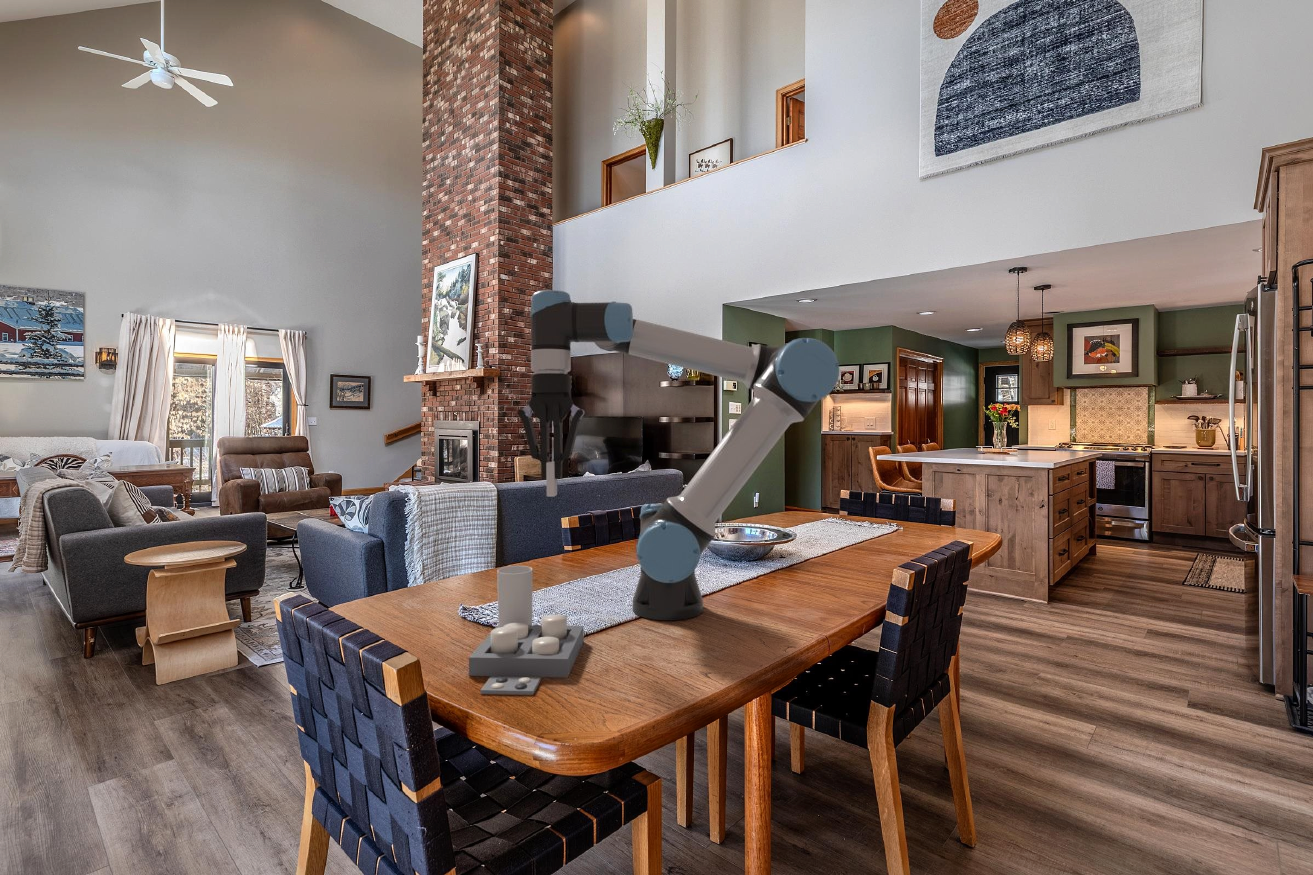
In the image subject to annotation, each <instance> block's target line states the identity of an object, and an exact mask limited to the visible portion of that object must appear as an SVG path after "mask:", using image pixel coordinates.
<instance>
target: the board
mask: <svg viewBox="0 0 1313 875" xmlns="http://www.w3.org/2000/svg"><path fill="white" fill-rule="evenodd" d="M503 626H505V625H499V624H497V625H496V626H495V628H494V629H496V628H500V627H503ZM584 626H585V625H567V639H559V654H532V641H533V640H534V639H537V638H540V637H542V624H541V625H539V624H537V625H536V624H535V625H534V624H532V625H528V637H527V638H526V639H518V651H517V652H516V654H500V653H491V632H490V633H489V634H488V635H487V637H485V639H484V640H483V641H482V642H481V643H480V644H479V645H478V647H477V648H476V649H475V650H474V651H473V653H471V654H470V655H469V657H468V676H469V677H491V676H494V677H541V678H562V679H563V678H565V679H566V678H567V679H568V678H569V676H570V673H571V671H572V669H573V666H574V665H575V662H576V660H577V657H578V655H579V653H580V651H581V649H582V646H583V644H584V641H585V639H584V636H585V635H584V634H585V633H584V632H585V629H584Z"/></svg>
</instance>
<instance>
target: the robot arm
mask: <svg viewBox="0 0 1313 875" xmlns="http://www.w3.org/2000/svg"><path fill="white" fill-rule="evenodd" d="M530 301H531V302H530V304H531V305H530V314H529V318H530V319H529V320H530V349H531V350H530V371H532V372H533V374H531V376H530V385H531V386H530V388H531V390H530V392H531V394H530V396H531V397H530V398H529V401H528V405H526V406H524V407H523V408H521V409H520V408H519V409H518V410H517V412H516V413H517V415H518V417H519V419H520V420H521V421H522V424H523V429H524V432H525V437H526V441H527V445H528V449H529V453H530V456H531V459H534V460H537V461H539V462H540V476H541V479H545V480H546V497H548V498H549V497H551V498H552V497H553V498H554V497H556V496H557V495H558V480H559V479H562V478H563V462H564V461H565V460H568V459H569V458H572V456H573V452H574V448H575V443H576V439H577V435H578V430H579V427H580V426H579V425H580V421H581V420H582V418H584V416H585V414H586V412H585V409H581V408H579V407H578V406H577V405H575V402H574V400H573V398H572V383H571V381H572V378H571V377H572V376H571V375H570V374H568V373H569V372H570V371H571V370H572V368H571V367H572V365H571V362H572V360H571V358H572V356H571V353H572V352H571V351H572V350H571V343H594V344H595V345H596V346H597V347H598V348H599V349H600V350H604V351H607V352H618V353H621V354H626V355H629V356H635V357H639V358H643V359H646V360H651V361H654V362H658V363H662V364H668V365H671V366H675V367H680V368H683V369H684V368H685V369H688V370H692V371H696V372H701V373H704V374H708V375H712V376H716V377H721V378H723V379H728V380H732V381H736V382H740V383H743V384H744V387H746V389H749V390H753V394H754V397H753V398H752V400H751V401H750V402H749V403H748V405H747V406H746V408H744V409H743V411H742V412H741V414H740V415H739V417H737V419H736V421H735V422H734V423H733V424H732V426H731V427H730V428H729V430H728V431H727V432H726V434H725V435H724V436H723V438H721V440H720V441H719V443H718V444H717V446H716V447H715V448H714V449H713V451H712V452H711V453H710V454H709V456H708V457H707V458H706V460H705V461H704V463H703V464H702V465H701V467H700V468H699V469H698V471H697V472H695V474H694V476H693V477H692V478H691V480H690V481H689V482H688V484H687V485H686V486H685V487H684V489H683V490H682V491H681V492H680V494H679V495H677V496H671V497H670V496H669V497H667V498H666V499H665V501H664V502H663V503H644V504H643V505H642V506H641V507H640V514H639V519H640V533H639V536H638V538H637V539H638V540H637V541H636V544H635V545H636V546H635V551H636V552H635V554H636V558H637V561H638V563H639V566H640V576H639V579H638V582H637V585H636V588H635V592H634V594H633V596H632V597H633V598H632V612H633V613H634V614H635V615H637V616H639V617H642V618H645V619H648V620H649V619H650V620H655V621H657V620H658V621H681V620H682V621H683V620H687V619H691V618H695V617H698V616H700V615H701V614H702V613H703V611H704V599H703V597H702V593H701V590H700V587H699V584H698V583H699V582H698V580H697V577H696V568H697V566H698V564H699V562H700V559H701V555H702V554H703V552H704V551H705V550H706V548H707V547H708V546H709V544H710V543H711V541H712V540H713V539H714V538H715V536H716V534H717V533H716V522H717V521H718V520H719V518H720V517H721V516H722V514H723V513H724V512H725V510H727V508H728V506H729V505H730V504H731V503H732V502H733V500H734V498H736V496H737V495H738V494H739V492H740V490H742V488H743V486H744V485H746V483H747V482H748V481H749V479H750V478H751V476H752V475H753V474H754V472H755V471H756V470H757V468H758V467H759V466H760V465H761V463H762V462H763V461H764V460H765V458H766V456H768V454H769V453H770V451H771V450H772V449H773V447H775V445H776V444H777V442H778V441H779V440H780V438H781V437H782V436H783V434H784V433H785V432H786V430H787V429H788V428H789V427H790V425H792V424H793V423H799V422H803V421H804V420H805V419H806V417H807V416H809V414H810V412H811V411H812V410H813V409H814V407H815V406H816V405H817V403H818V402H819V401H821V400H822V399H824V398H826V397H827V396H828V395H830V393H831V392H832V391H833V390H834V388H835V387H836V385H837V383H838V380H839V376H840V364H839V361H838V358H837V354H835V352H834V351H833V350H832V348H831V347H830V346H829V345H828V344H826V343H825V342H823V341H821V340H819V339H816V338H812V337H801V338H795V339H792V340H791V341H789V342H788V343H786V344H785V345H784V346H771V345H764V344H761V343H757V344H755V345H753V346H748V345H744V344H739V343H734V342H731V341H727V340H723V339H719V338H715V337H711V336H707V335H702V334H697V333H694V332H689V331H685V330H681V329H677V328H674V327H670V326H666V325H661V324H657V323H652V322H648V321H645V320H641V319H634V318H633V317H634V316H633V307H632V305H631V303H629V302H617V301H611V302H610V301H609V302H575V301H572V300H571V295H570V294H569V292H566V291H563V290H553V289H546V290H539V291H536V292H534V293H533V294H532V296H531V300H530ZM532 412H533V413H534V415H535V416H536V417H537V419H538V420H539V426H540V429H539V431H540V432H539V433H540V443H539V444H540V445H539V444H538V440H537V437H536V433H535V428H534V423H533V420H532V417H533V413H532ZM568 414H570V417H572V419H571V421H570V423H569V424H570V425H569V429H568V434H567V436H566V437H567V438H566V442H565V446H564V447H563V445H564V444H563V425H564V422H563V421H564V420H565V419H566V417H567V416H568ZM551 422H552V426H553V460H552V461H550V460H551V458H550V425H551ZM539 446H540V448H539ZM563 448H564V451H563Z"/></svg>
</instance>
